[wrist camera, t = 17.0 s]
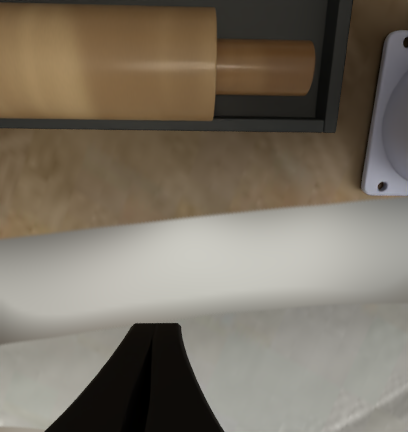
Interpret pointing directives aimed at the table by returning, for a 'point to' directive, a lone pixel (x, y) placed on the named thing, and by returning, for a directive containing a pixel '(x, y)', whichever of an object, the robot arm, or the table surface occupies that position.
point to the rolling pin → (135, 63)
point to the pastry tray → (250, 104)
